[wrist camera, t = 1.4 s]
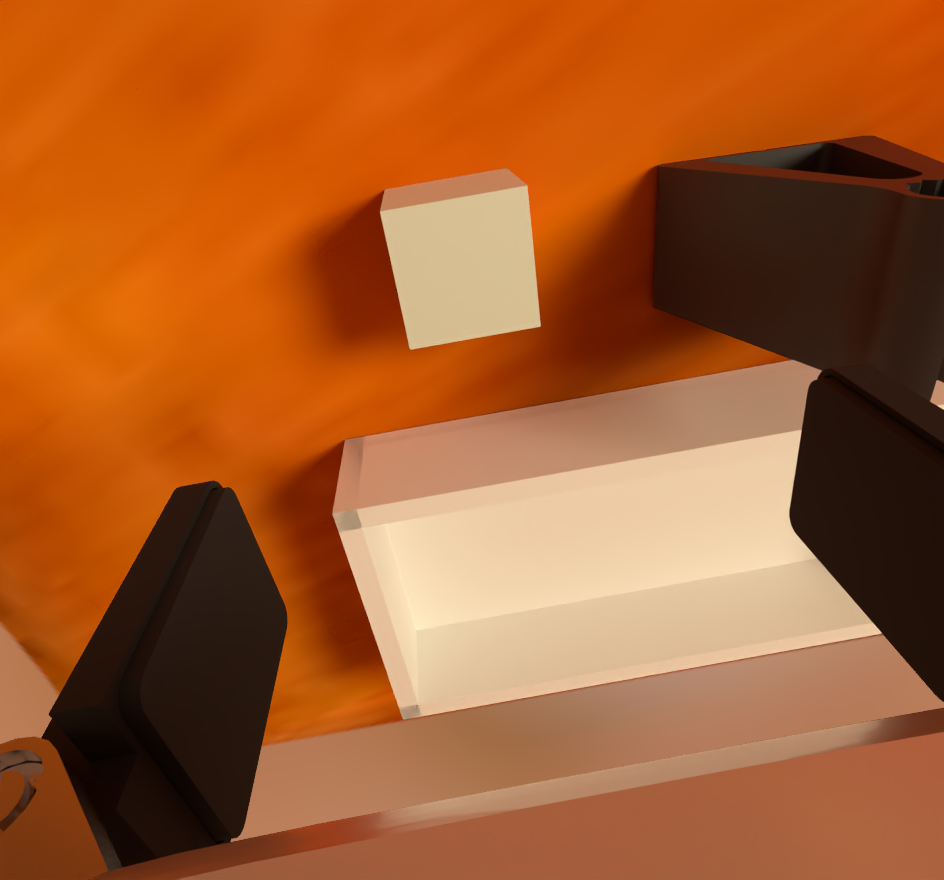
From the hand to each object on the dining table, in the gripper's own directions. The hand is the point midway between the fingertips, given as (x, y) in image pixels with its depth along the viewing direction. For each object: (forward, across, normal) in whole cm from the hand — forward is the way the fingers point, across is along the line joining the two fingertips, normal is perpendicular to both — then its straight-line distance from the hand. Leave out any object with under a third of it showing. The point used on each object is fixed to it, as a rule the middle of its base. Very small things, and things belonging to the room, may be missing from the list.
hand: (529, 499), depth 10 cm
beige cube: (+18, 0, 0) cm, 19 cm away
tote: (+18, -8, +16) cm, 25 cm away
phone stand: (+19, -13, +2) cm, 23 cm away
